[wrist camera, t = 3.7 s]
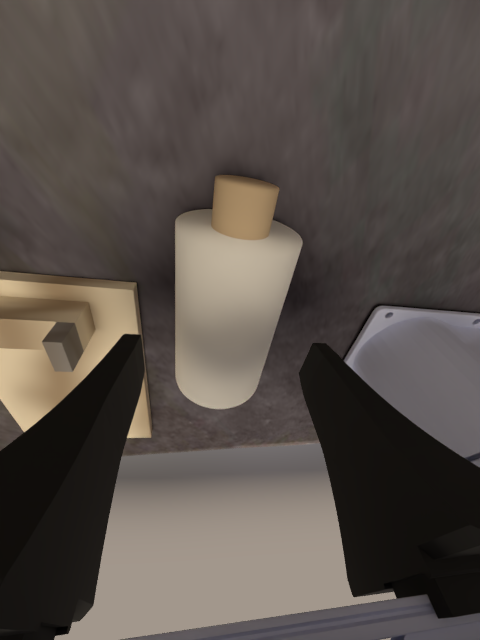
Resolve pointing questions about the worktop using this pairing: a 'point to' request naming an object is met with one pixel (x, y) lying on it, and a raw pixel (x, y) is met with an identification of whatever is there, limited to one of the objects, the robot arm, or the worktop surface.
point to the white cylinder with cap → (229, 290)
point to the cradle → (61, 340)
